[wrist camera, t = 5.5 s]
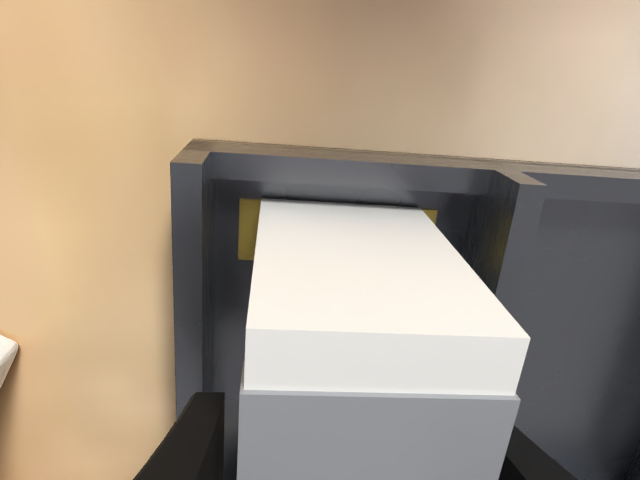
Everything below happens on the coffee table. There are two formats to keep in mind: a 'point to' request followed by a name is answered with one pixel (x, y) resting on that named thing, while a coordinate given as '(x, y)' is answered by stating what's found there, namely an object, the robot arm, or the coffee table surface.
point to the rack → (475, 248)
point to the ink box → (6, 356)
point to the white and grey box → (372, 351)
